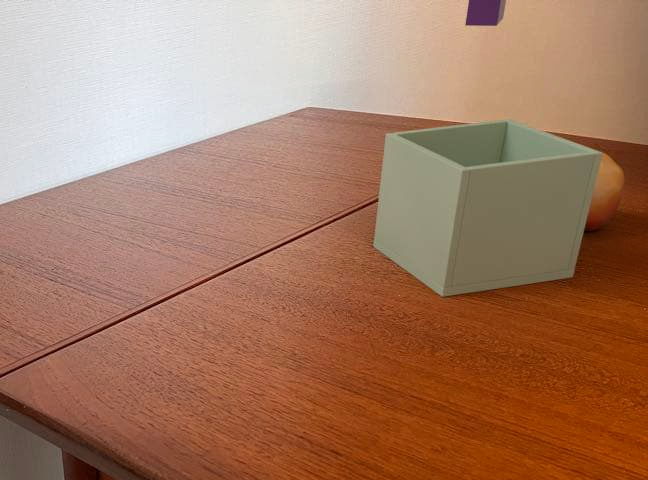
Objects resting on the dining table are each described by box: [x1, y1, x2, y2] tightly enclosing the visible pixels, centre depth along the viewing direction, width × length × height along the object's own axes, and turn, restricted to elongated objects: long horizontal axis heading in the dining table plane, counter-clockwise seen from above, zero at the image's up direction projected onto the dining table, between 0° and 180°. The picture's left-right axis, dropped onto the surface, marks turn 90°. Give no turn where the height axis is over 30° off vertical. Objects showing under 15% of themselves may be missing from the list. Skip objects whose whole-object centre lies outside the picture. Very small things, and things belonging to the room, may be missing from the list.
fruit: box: [584, 151, 625, 232], centre depth 84 cm, size 8×8×8 cm
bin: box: [372, 118, 604, 298], centre depth 76 cm, size 12×12×11 cm
